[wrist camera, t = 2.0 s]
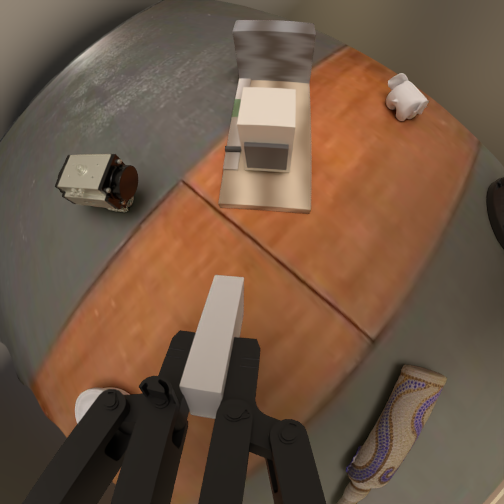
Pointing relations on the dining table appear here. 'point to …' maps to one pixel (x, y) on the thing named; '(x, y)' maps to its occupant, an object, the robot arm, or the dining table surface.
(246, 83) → the board
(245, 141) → the block
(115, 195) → the pneumatic valve
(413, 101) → the elephant figurine
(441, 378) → the decorative bottle
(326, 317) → the dining table surface
